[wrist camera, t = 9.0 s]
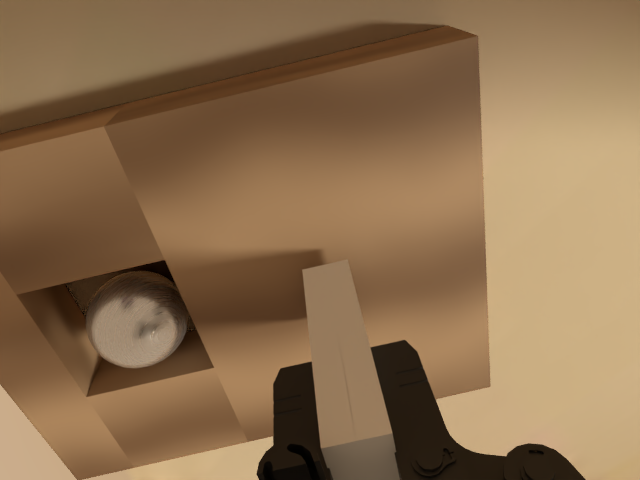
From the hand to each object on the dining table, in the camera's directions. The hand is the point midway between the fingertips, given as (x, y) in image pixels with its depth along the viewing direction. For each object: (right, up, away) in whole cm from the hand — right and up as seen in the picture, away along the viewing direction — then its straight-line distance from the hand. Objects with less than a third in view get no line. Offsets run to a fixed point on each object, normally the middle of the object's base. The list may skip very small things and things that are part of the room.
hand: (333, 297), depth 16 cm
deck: (-4, +1, +3) cm, 5 cm away
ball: (-8, -1, +3) cm, 9 cm away
